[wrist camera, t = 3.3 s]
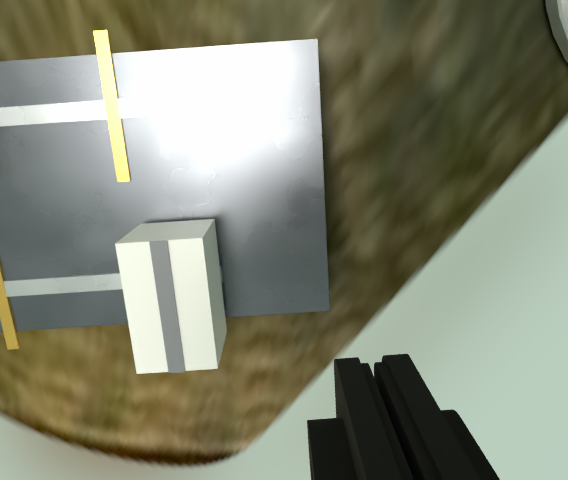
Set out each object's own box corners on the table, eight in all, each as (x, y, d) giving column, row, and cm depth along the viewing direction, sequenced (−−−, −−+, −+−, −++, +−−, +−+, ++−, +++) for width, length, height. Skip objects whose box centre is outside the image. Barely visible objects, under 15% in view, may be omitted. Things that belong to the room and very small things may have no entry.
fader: (214, 218, 19) (201, 238, 16) (226, 331, 20) (217, 370, 17) (140, 223, 19) (114, 244, 16) (157, 336, 20) (135, 375, 17)
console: (311, 29, 20) (316, 14, 17) (324, 301, 23) (330, 328, 20) (-102, 59, 20) (-168, 49, 17) (-31, 324, 24) (-77, 354, 21)
